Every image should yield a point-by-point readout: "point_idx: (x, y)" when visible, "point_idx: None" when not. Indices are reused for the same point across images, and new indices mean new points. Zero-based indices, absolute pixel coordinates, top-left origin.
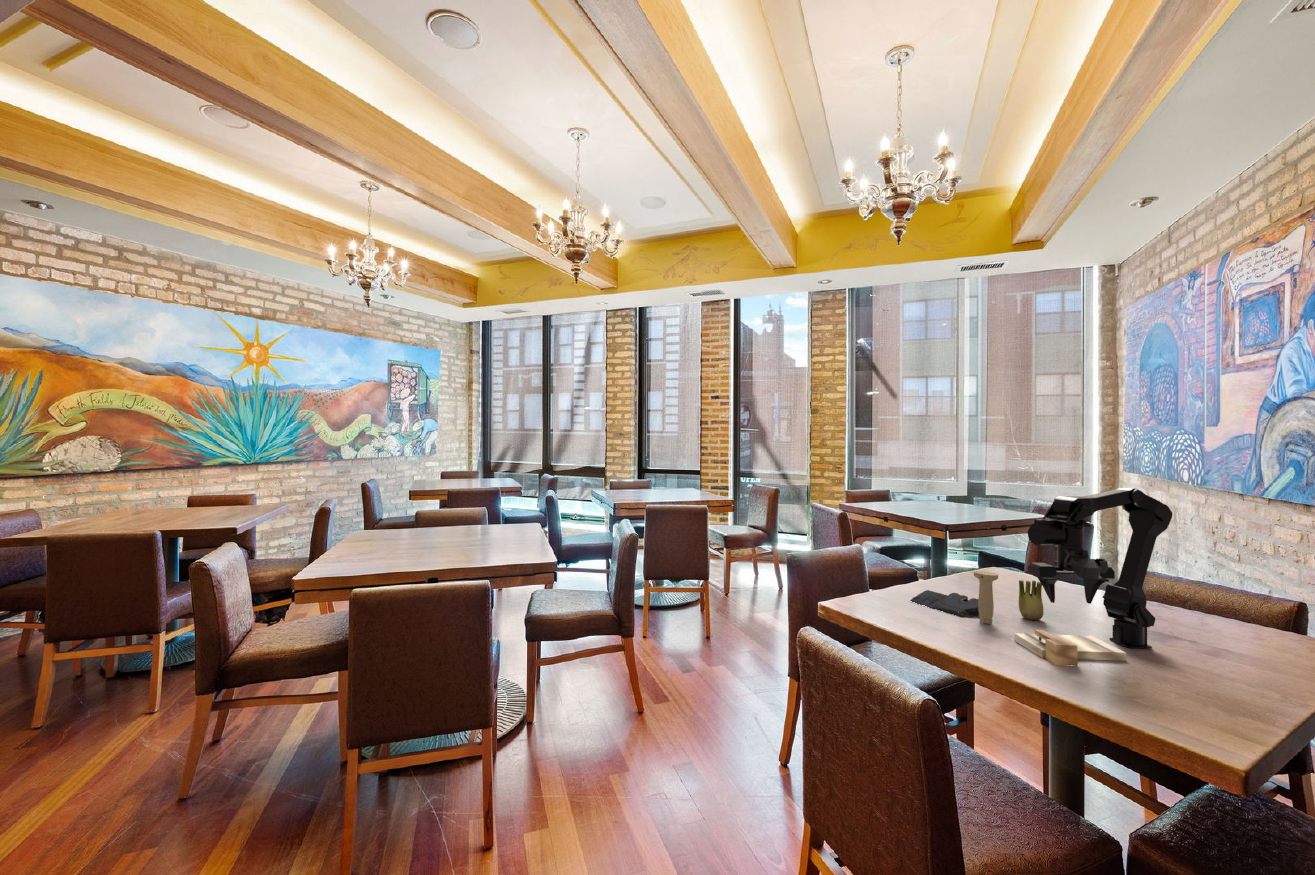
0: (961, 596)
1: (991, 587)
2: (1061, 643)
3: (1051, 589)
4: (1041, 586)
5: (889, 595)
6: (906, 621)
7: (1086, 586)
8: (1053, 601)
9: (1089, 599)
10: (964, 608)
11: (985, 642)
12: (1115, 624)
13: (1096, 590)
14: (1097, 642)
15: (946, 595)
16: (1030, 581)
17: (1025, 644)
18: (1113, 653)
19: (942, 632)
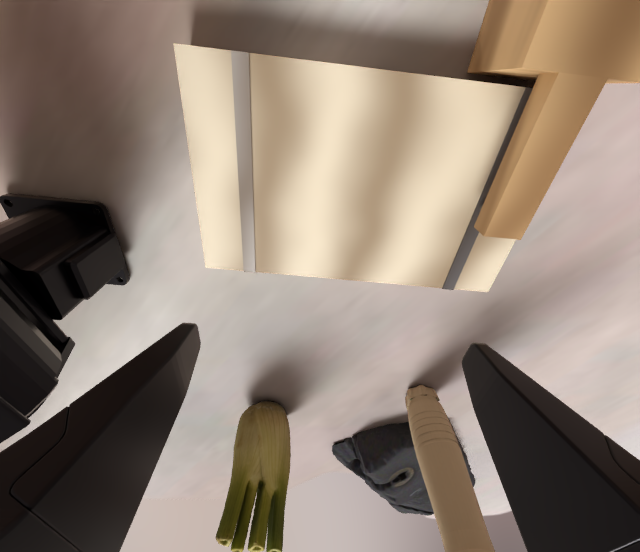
0: (397, 491)
1: (457, 518)
2: None
3: (625, 457)
4: (222, 522)
5: (482, 502)
6: (633, 401)
7: (121, 505)
8: (490, 349)
9: (182, 349)
10: None
11: (597, 264)
12: (74, 297)
13: (46, 427)
14: (229, 196)
15: (414, 497)
16: (250, 548)
17: None
18: (239, 52)
19: (634, 338)
